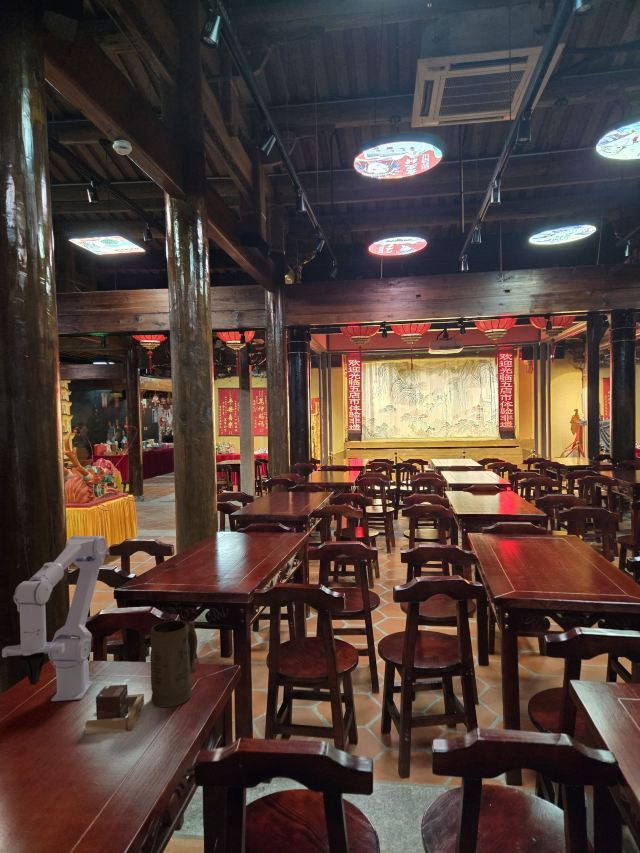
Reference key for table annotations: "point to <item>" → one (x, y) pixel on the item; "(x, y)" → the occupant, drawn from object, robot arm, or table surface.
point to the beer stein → (172, 662)
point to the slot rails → (118, 723)
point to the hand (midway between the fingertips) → (34, 682)
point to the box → (112, 702)
